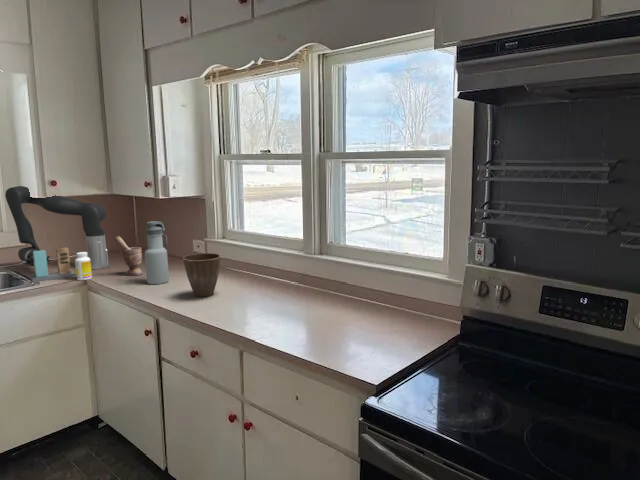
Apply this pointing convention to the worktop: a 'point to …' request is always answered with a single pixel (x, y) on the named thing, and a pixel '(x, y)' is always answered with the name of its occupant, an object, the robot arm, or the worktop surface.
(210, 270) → the plant pot
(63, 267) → the tan tall block
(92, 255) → the robot arm
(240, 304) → the worktop surface
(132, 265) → the mortar and pestle
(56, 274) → the key base
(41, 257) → the teal rectangular block
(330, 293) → the worktop surface
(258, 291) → the worktop surface
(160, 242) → the water bottle
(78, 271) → the supplement bottle
